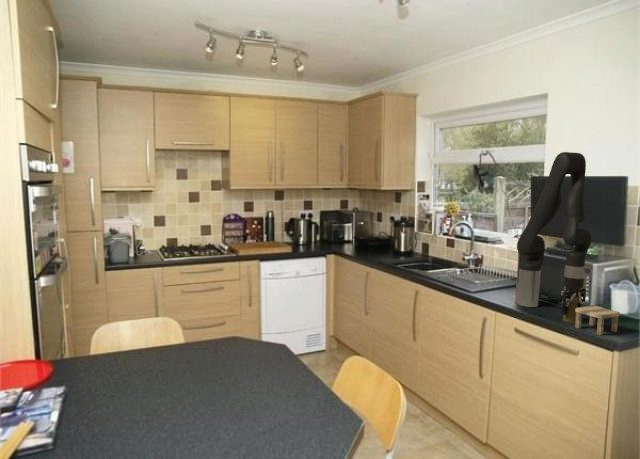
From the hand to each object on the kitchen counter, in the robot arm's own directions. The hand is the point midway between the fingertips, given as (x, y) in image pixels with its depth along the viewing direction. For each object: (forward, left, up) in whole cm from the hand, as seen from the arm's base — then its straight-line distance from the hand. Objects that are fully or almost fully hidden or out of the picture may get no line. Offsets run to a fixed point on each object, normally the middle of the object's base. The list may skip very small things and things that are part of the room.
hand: (571, 313), depth 198 cm
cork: (0, 0, -3) cm, 3 cm away
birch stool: (+12, -1, -3) cm, 12 cm away
